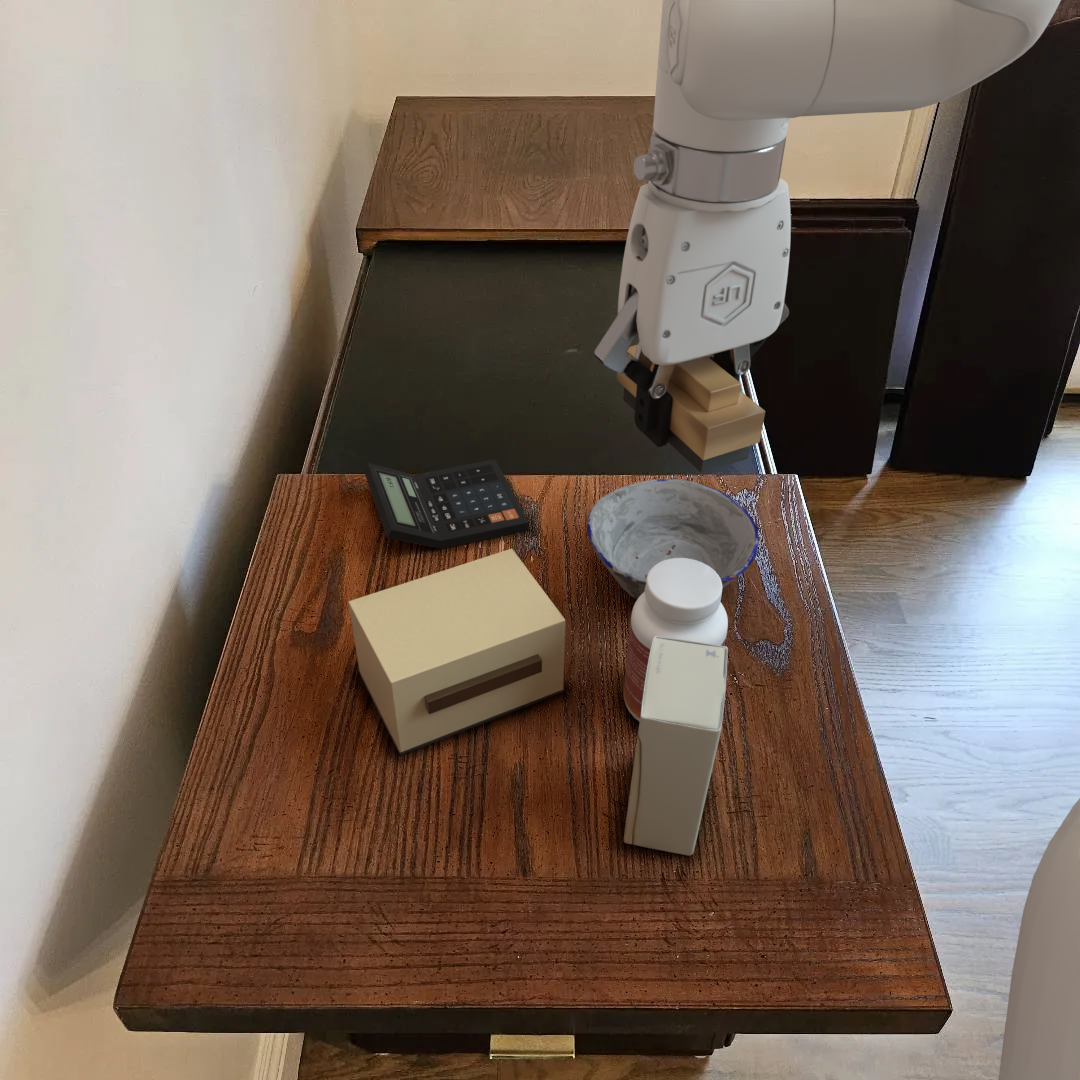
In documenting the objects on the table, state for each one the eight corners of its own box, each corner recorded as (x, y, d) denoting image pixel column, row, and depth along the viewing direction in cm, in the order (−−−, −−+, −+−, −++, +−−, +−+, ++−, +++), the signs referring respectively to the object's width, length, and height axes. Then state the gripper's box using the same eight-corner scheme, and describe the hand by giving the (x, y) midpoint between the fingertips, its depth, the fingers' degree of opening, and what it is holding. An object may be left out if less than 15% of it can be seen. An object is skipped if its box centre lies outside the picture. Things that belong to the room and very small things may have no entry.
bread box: (568, 697, 69) (570, 625, 64) (403, 762, 64) (393, 690, 60) (513, 618, 74) (512, 547, 70) (358, 672, 70) (346, 600, 66)
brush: (756, 461, 67) (769, 390, 63) (700, 479, 65) (710, 408, 61) (667, 383, 74) (674, 316, 70) (615, 398, 72) (619, 329, 69)
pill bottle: (663, 751, 65) (679, 632, 58) (604, 693, 69) (613, 573, 62) (732, 709, 68) (756, 590, 61) (672, 655, 72) (688, 536, 65)
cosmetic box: (636, 763, 64) (650, 631, 56) (705, 775, 64) (729, 642, 56) (622, 847, 60) (636, 715, 52) (696, 861, 59) (722, 730, 51)
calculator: (528, 530, 82) (528, 501, 80) (389, 559, 79) (386, 530, 77) (495, 466, 89) (494, 439, 87) (366, 491, 86) (362, 463, 84)
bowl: (783, 605, 76) (793, 558, 72) (630, 652, 72) (634, 603, 69) (699, 507, 85) (705, 461, 82) (560, 543, 81) (561, 496, 78)
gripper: (622, 212, 52) (605, 489, 64) (872, 161, 58) (814, 423, 70) (555, 165, 57) (550, 430, 69) (791, 122, 63) (750, 373, 75)
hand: (683, 424), depth 69 cm, fingers closed on brush, 4 cm apart
